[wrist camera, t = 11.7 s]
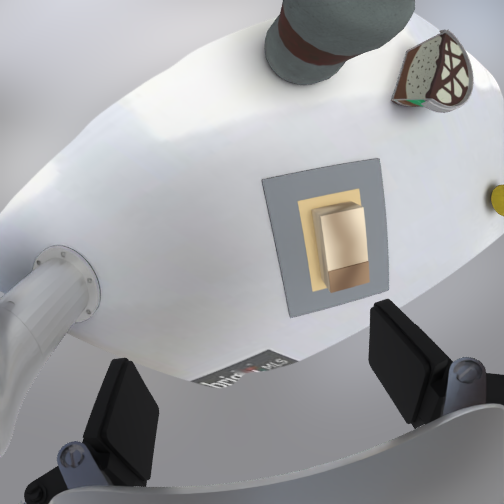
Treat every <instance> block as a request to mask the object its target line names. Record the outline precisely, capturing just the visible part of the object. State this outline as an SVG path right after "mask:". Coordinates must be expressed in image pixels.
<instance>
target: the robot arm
mask: <svg viewBox="0 0 504 504" xmlns="http://www.w3.org/2000/svg"><path fill="white" fill-rule="evenodd" d="M99 300H100V288H99V283H98V280H97V278H96V275H95V273H94V271H93V270H92V268H91V266H90V265H89V264H88V262H87V261H86V260H85V259H84V258H83V257H82V256H81V255H80V254H78V253H77V252H75V251H74V250H72V249H70V248H67V247H63V246H52V247H49V248H47V249H45V250H44V251H42V252H41V253H40V254H39V255H38V256H37V258H36V260H35V262H34V265H33V271H32V272H31V273H30V274H29V275H28V276H26V277H25V278H24V279H23V280H21V281H20V282H19V283H18V284H16V285H15V286H14V287H13V288H12V289H10V290H9V291H8V292H7V293H6V294H5V295H3V296H2V297H1V298H0V458H1V457H2V456H3V454H4V453H5V451H6V450H7V448H8V446H9V443H10V441H11V437H12V435H13V431H14V427H15V424H16V420H17V416H18V413H19V410H20V408H21V405H22V402H23V400H24V398H25V396H26V394H27V392H28V390H29V389H30V387H31V385H32V383H33V382H34V380H35V378H36V377H37V375H38V374H39V372H40V371H41V369H42V368H43V366H44V365H45V363H46V362H47V360H48V359H49V357H50V356H51V354H52V353H53V352H54V350H55V349H56V347H57V346H58V344H59V343H60V342H61V340H62V339H63V337H64V336H65V334H66V333H67V332H68V330H69V329H70V328H71V326H72V325H73V324H74V323H78V322H83V321H86V320H87V319H89V318H90V317H91V316H92V315H93V314H94V312H95V311H96V309H97V307H98V305H99ZM369 364H370V366H371V368H372V370H373V371H374V373H375V374H376V376H377V377H378V379H379V380H380V382H381V383H382V385H383V387H384V388H385V390H386V391H387V393H388V394H389V396H390V398H391V399H392V400H393V402H394V404H395V405H396V407H397V408H398V410H399V412H400V413H401V415H402V417H403V418H404V420H405V421H406V423H408V424H410V423H411V424H412V425H413V427H414V428H415V430H413V431H411V432H409V433H406V434H404V435H402V436H399V437H397V438H395V439H392V440H390V441H388V442H385V443H383V444H380V445H378V446H375V447H373V448H370V449H367V450H365V451H362V452H359V453H356V454H354V455H351V456H348V457H345V458H342V459H339V460H336V461H333V462H329V463H326V464H322V465H319V466H315V467H311V468H308V469H304V470H299V471H295V472H292V473H287V474H282V475H277V476H272V477H267V478H262V479H255V480H249V481H243V482H235V483H226V484H217V485H207V486H206V485H205V486H189V487H146V483H147V480H149V479H150V477H151V469H152V460H153V453H154V445H155V438H156V430H157V424H158V417H159V408H158V405H157V404H156V402H155V400H154V399H153V397H152V395H151V393H150V392H149V390H148V389H147V387H146V385H145V383H144V381H143V380H142V378H141V376H140V374H139V372H138V371H137V369H136V367H135V365H134V363H133V362H132V361H129V360H128V359H127V358H119V359H113V360H112V361H111V364H110V366H109V368H108V371H107V373H106V376H105V378H104V381H103V383H102V386H101V388H100V391H99V393H98V396H97V399H96V401H95V404H94V407H93V410H92V412H91V415H90V418H89V420H88V423H87V426H86V429H85V432H84V435H83V438H84V439H83V442H82V443H81V442H78V441H74V442H69V443H67V444H65V445H64V446H63V447H62V448H61V449H60V450H59V453H58V455H57V463H58V466H57V467H55V468H54V469H52V470H51V471H49V472H48V473H46V474H44V475H43V476H41V477H40V478H38V479H36V480H35V481H33V482H32V483H30V484H29V485H28V486H27V488H26V490H25V493H24V497H25V503H24V502H22V501H21V502H20V503H19V504H504V375H499V374H490V373H486V369H485V367H484V365H483V364H482V363H481V362H480V361H479V360H477V359H475V358H471V357H462V358H459V359H457V360H455V361H454V362H453V361H452V360H451V359H450V358H449V357H448V356H447V355H446V354H445V353H444V352H443V351H442V350H441V349H440V348H439V347H438V346H437V345H436V344H435V343H434V342H433V341H432V340H431V339H430V338H429V337H428V336H427V335H426V334H425V333H424V332H423V331H422V330H421V329H420V328H419V327H418V326H417V325H416V324H414V323H413V322H412V321H411V320H410V319H409V318H408V317H407V316H406V315H405V314H404V313H403V312H402V311H401V310H400V309H399V308H398V307H397V306H396V305H395V304H394V303H393V302H392V301H391V300H389V299H385V300H382V301H379V302H376V303H374V307H372V308H371V309H370V339H369ZM424 424H425V425H424ZM422 425H423V426H422ZM420 426H421V427H420ZM417 427H419V428H417ZM416 428H417V429H416ZM134 486H140V487H134Z"/></svg>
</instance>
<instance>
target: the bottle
mask: <svg viewBox="0 0 504 504" xmlns="http://www.w3.org/2000/svg"><path fill="white" fill-rule="evenodd" d="M414 10H415V0H283V3H282V8H281V12H280V15H279V16H278V17H277V19H276V20H275V21H274V23H273V24H272V25H271V27H270V28H269V30H268V31H267V35H266V39H265V52H266V59H267V61H268V62H269V64H270V66H271V68H272V70H273V71H274V72H275V73H276V74H277V75H278V76H279V77H281V78H283V79H285V80H286V81H288V82H292V83H296V84H300V85H306V84H314V83H317V82H320V81H323V80H327V79H329V78H330V77H331V76H333V75H334V74H335V73H337V72H338V70H339V69H340V68H341V67H342V66H343V65H344V63H345V62H346V61H347V60H349V59H351V58H353V57H356V56H358V55H360V54H363V53H365V52H368V51H371V50H374V49H378V48H380V47H381V46H383V45H384V44H386V43H387V42H389V41H390V40H391V39H392V38H393V37H395V36H396V35H397V34H398V33H399V32H400V31H402V30H403V29H404V27H405V26H406V24H407V23H408V21H409V20H410V18H411V16H412V14H413V12H414Z"/></svg>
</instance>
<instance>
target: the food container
mask: <svg viewBox="0 0 504 504" xmlns="http://www.w3.org/2000/svg"><path fill="white" fill-rule="evenodd" d="M439 32H441V33H440V34H438V35H436V36H434V37H432V38H430V39H428V40H426V41H424V42H422V43H421V44H419V45H417V46H415V47H413V48H411V49H409V50H408V51H406V54H405V58H404V61H403V64H402V68H401V71H400V74H399V77H398V81H397V84H396V87H395V90H394V93H393V96H392V99H391V101H392V102H394V103H396V104H399V105H403V106H421V107H426V108H428V109H430V110H432V111H436V112H443V113H445V112H450V111H452V110H455V109H457V108H460V107H461V106H462V105H464V104H465V103H466V102H467V100H468V99H469V98H470V96H471V93H472V90H473V71H472V66H471V63H470V60H469V57H468V55H467V53H466V51H465V49H464V48H463V46H462V44H461V43H460V42H459V40H458V39H457V38H456V37H455V36H454V34H453V33H452V32H450V31H449V30H441V31H439Z"/></svg>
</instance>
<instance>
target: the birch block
mask: <svg viewBox="0 0 504 504" xmlns="http://www.w3.org/2000/svg"><path fill="white" fill-rule="evenodd" d="M311 210H312V216H313V223H314V229H315V236H316V242H317V249H318V256H319V263H320V271H321V279H322V281H323V282H324V284H325V285H326V287H327V288H328V290H329V291H330V293H333V292H337V291H341V290H344V289H348V288H351V287H355V286H359V285H362V284H366V283H369V282H370V277H369V261H368V252H367V238H366V227H365V216H364V207H362V206H360V205H358V204H356V203H354V202H352V201H348V202H343V203H338V204H333V205H329V206H324V207H319V208H314V209H311Z"/></svg>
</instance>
